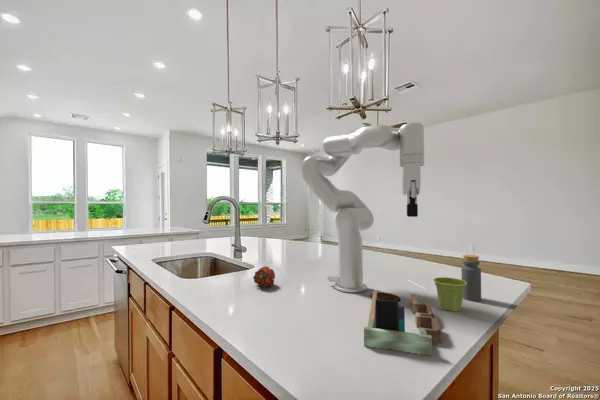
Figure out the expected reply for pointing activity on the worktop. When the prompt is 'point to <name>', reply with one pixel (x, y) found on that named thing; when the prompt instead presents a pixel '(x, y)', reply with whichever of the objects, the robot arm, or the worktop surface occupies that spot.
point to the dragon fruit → (264, 277)
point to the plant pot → (450, 292)
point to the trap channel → (405, 340)
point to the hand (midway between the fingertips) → (412, 216)
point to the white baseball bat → (415, 283)
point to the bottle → (471, 278)
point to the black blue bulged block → (390, 315)
